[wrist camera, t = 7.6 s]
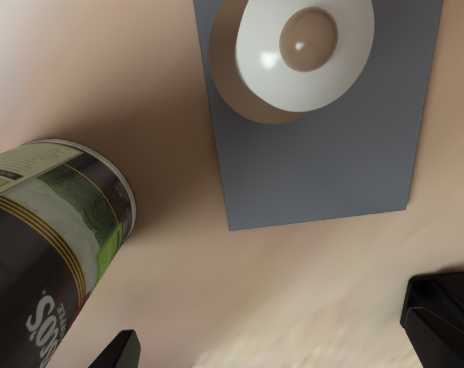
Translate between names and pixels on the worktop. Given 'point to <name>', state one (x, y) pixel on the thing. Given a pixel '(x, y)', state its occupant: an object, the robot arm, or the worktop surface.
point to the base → (226, 72)
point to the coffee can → (54, 241)
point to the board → (331, 131)
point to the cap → (303, 50)
